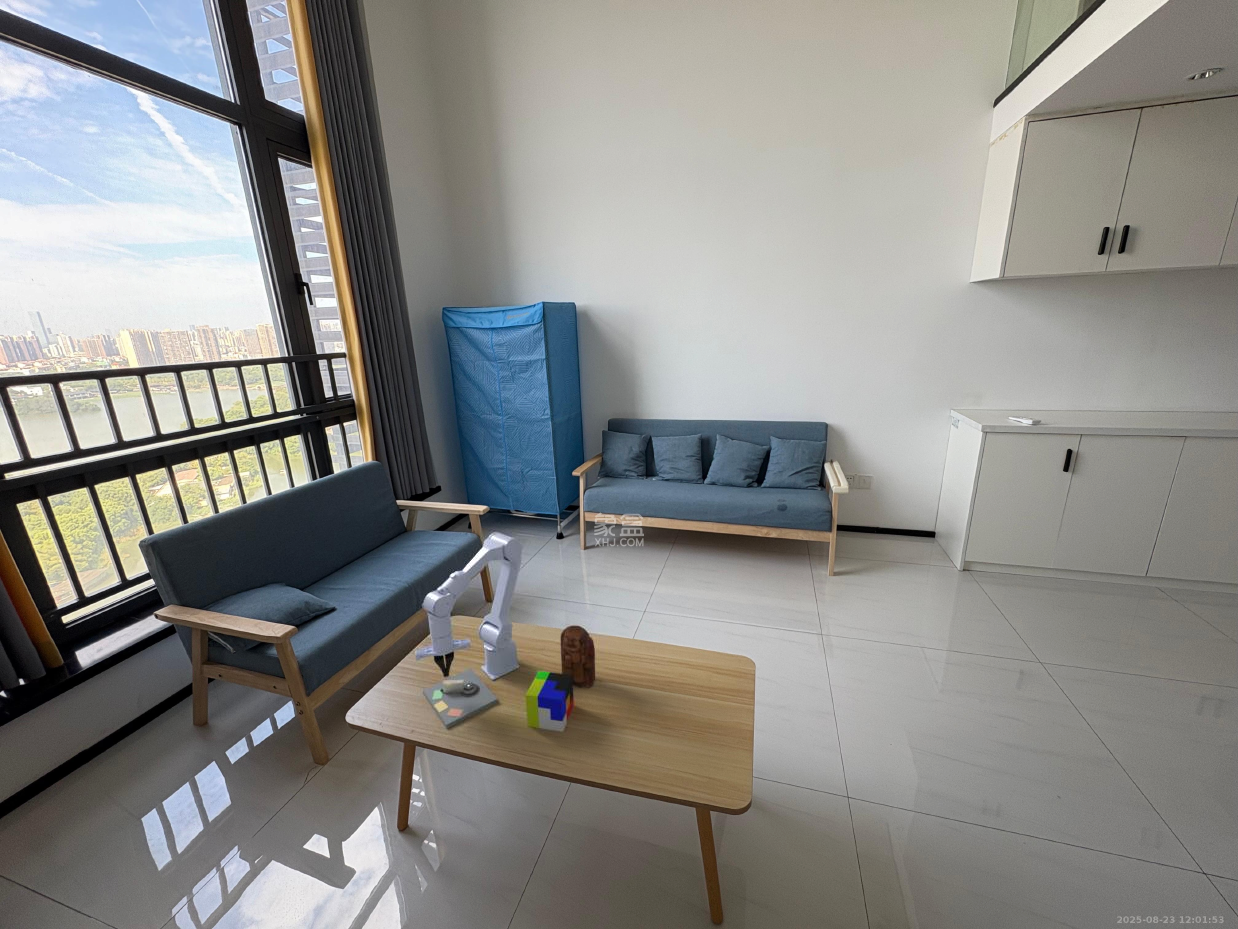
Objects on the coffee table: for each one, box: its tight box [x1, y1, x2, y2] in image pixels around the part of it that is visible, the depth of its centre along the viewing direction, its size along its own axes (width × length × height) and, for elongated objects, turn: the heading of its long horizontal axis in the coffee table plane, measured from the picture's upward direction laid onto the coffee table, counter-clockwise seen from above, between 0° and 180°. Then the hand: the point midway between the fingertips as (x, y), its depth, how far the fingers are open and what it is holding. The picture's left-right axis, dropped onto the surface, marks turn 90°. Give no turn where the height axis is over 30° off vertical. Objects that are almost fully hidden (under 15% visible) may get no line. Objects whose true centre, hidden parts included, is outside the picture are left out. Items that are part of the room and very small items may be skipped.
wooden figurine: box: [560, 625, 596, 689], centre depth 148 cm, size 12×6×18 cm, turn 72°
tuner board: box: [422, 668, 498, 729], centre depth 143 cm, size 15×18×1 cm
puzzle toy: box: [525, 670, 575, 733], centre depth 135 cm, size 10×10×10 cm
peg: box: [440, 679, 477, 695], centre depth 144 cm, size 10×4×3 cm, turn 93°
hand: (446, 674), depth 140 cm, fingers closed
